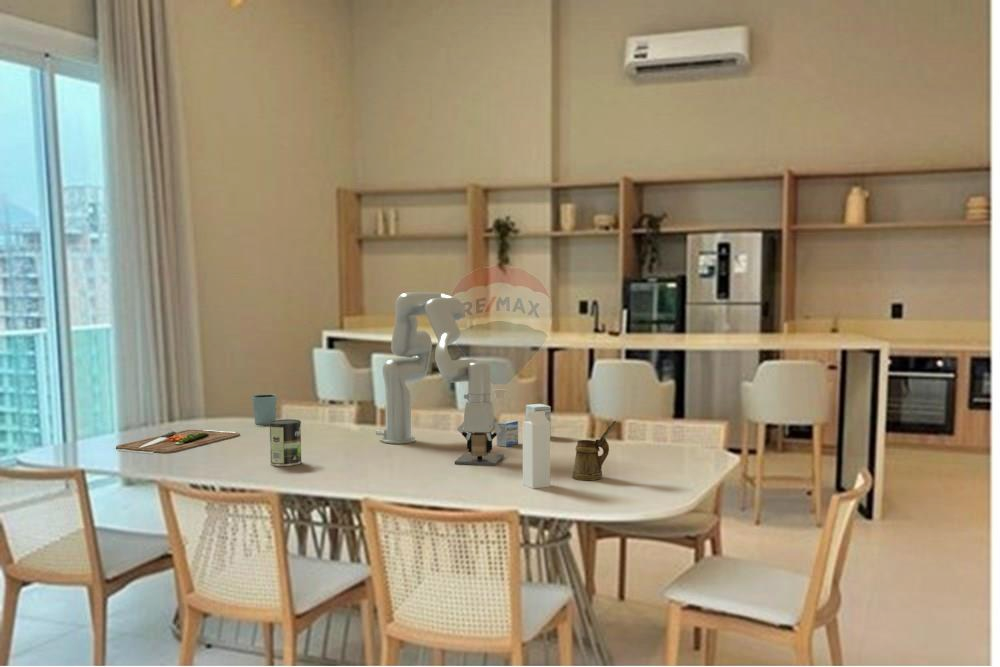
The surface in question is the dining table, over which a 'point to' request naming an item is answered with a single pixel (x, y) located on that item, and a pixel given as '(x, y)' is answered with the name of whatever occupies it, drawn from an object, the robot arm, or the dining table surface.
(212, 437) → the chopping board
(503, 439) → the medicine box
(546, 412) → the supplement box
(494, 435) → the robot arm
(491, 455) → the holder
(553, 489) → the dining table surface
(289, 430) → the coffee can
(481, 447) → the cylinder
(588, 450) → the wooden mug
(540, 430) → the milk
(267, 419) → the blue cup
